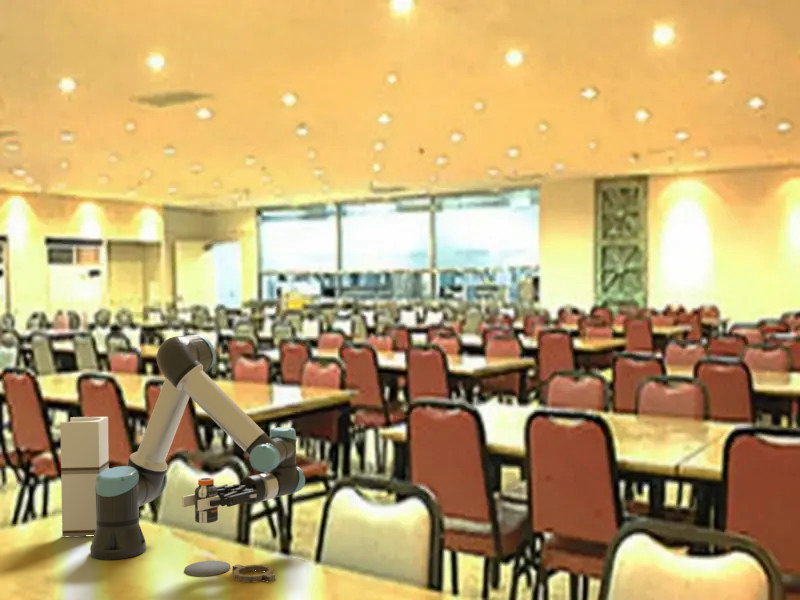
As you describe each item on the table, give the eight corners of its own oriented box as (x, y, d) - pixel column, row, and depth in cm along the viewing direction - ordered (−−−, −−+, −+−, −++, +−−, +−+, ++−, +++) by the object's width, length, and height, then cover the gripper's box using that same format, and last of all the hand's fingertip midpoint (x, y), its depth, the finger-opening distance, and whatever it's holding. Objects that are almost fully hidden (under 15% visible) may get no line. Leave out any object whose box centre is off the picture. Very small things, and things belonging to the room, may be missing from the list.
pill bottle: (208, 524, 237) (207, 481, 237) (190, 522, 240) (189, 480, 240) (222, 519, 243) (221, 477, 243) (204, 517, 245) (203, 475, 245)
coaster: (175, 570, 241) (175, 568, 241) (211, 559, 250) (211, 558, 250) (203, 579, 233) (203, 577, 233) (239, 568, 242) (239, 566, 242)
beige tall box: (109, 527, 286) (108, 416, 286) (100, 536, 276) (98, 421, 275) (73, 528, 286) (71, 417, 285) (62, 537, 275) (60, 422, 274)
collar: (220, 575, 237) (220, 569, 237) (249, 565, 244) (249, 560, 244) (257, 586, 227) (257, 581, 227) (286, 576, 235) (286, 571, 235)
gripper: (236, 470, 261) (168, 484, 244) (280, 478, 249) (213, 494, 231) (236, 496, 261) (169, 512, 244) (281, 506, 249) (213, 523, 231)
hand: (190, 503), depth 238 cm, fingers closed on pill bottle, 6 cm apart
